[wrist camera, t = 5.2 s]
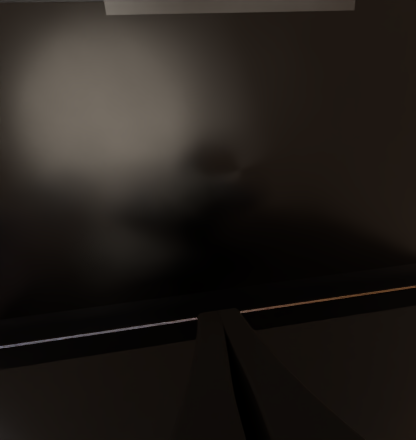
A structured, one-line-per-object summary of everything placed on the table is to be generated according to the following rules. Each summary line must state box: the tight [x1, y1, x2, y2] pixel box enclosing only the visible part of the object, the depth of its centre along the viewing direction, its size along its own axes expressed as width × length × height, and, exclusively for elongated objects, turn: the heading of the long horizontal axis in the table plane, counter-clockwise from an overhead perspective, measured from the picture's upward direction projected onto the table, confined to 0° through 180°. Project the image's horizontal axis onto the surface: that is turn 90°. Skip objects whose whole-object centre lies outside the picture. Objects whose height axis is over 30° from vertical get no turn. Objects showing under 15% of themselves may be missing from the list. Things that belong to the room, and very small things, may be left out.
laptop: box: [0, 0, 416, 346], centre depth 11 cm, size 21×30×2 cm
